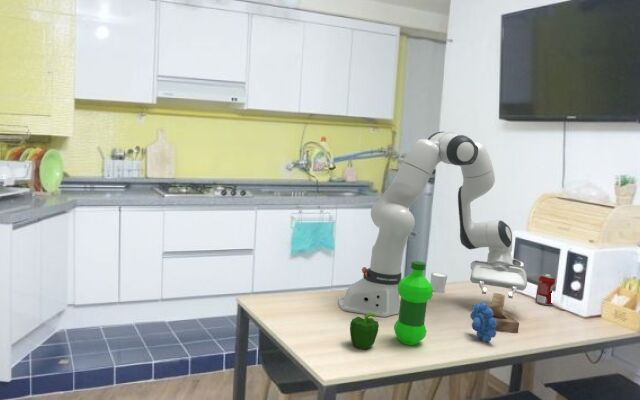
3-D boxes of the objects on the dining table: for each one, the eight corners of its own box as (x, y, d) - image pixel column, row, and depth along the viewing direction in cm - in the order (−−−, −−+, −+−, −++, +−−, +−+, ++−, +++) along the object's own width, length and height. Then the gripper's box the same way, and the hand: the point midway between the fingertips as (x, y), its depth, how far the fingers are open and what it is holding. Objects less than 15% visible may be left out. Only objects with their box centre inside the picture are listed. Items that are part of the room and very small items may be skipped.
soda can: (544, 306, 223) (549, 278, 222) (531, 301, 229) (535, 273, 228) (556, 305, 227) (560, 277, 225) (542, 300, 233) (547, 273, 231)
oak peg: (490, 326, 191) (495, 296, 190) (486, 322, 196) (491, 292, 194) (502, 327, 192) (507, 297, 190) (498, 323, 196) (502, 293, 194)
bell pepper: (348, 350, 157) (352, 316, 156) (347, 339, 166) (351, 307, 164) (377, 353, 157) (381, 319, 156) (374, 342, 166) (378, 310, 164)
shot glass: (447, 291, 232) (449, 275, 231) (442, 294, 226) (444, 277, 225) (432, 287, 236) (434, 271, 235) (426, 290, 230) (428, 274, 229)
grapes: (458, 333, 181) (463, 298, 180) (474, 332, 184) (479, 297, 183) (482, 347, 171) (488, 310, 169) (499, 345, 174) (504, 309, 172)
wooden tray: (483, 329, 187) (484, 319, 187) (473, 317, 199) (474, 308, 199) (517, 332, 188) (519, 323, 187) (505, 320, 200) (507, 311, 199)
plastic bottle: (421, 336, 174) (431, 260, 171) (428, 349, 164) (439, 268, 161) (389, 333, 174) (399, 257, 171) (395, 346, 163) (405, 265, 160)
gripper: (472, 255, 210) (469, 286, 201) (528, 263, 205) (527, 295, 197) (470, 264, 215) (467, 294, 206) (525, 272, 210) (524, 304, 201)
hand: (497, 295), depth 201 cm, fingers open, 8 cm apart
